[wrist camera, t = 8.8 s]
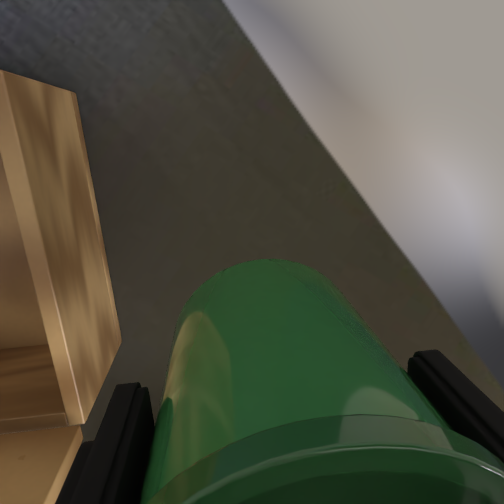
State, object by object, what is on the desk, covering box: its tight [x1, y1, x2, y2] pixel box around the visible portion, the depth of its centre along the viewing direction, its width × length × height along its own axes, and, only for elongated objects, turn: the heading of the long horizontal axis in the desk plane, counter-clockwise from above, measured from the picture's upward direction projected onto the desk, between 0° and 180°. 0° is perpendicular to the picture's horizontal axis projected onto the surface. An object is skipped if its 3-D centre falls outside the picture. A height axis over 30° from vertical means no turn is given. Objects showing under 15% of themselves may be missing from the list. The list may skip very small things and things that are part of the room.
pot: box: [139, 259, 504, 504], centre depth 10 cm, size 7×7×8 cm
